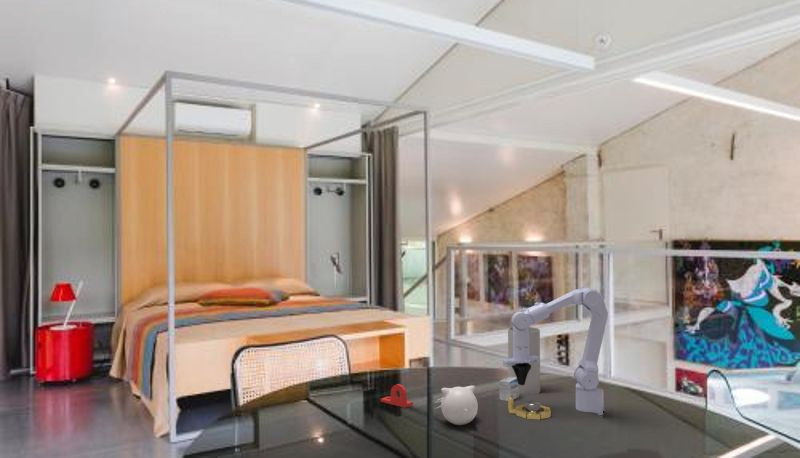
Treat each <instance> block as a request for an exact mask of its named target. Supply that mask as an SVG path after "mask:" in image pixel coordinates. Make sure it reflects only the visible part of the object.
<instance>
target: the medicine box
mask: <svg viewBox="0 0 800 458" xmlns="http://www.w3.org/2000/svg"><path fill="white" fill-rule="evenodd" d="M508 397H513V401H514V400H515V399H518V398H519V397H520V394H519V384H518V381H517V378H516V377H508V376H507V377H505V378H503V379H501V380H499V400H501V401H506V402H508Z"/></svg>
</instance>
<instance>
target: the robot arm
mask: <svg viewBox="0 0 800 458" xmlns="http://www.w3.org/2000/svg"><path fill="white" fill-rule="evenodd" d="M569 305H578V306H579V305H580V306H584V307H585V308H586V309H587V311H588V312H589V313H590V314H591V316H590V317H591V318H590V323H589V327H588V332H587V335H586V340H585V344H584V349H583V353H582V358H581V359H580V361H579V363H578V366H577V367H576V368H575V370H574V372H573V375H574V379H575V381H576V384H575V409H576V410H577V411H579V412H584V413H595V414H596V415H598V416H600V415H602V414H603V415H604V413H603V411H604V412H605V405H604V404H605V403H604V401H605V400H604V399H605V398H604V396H605V395H604V389H601V388H598V385H599V382H600V378H599V375H598V374H599V366H598V363H599V362H598V361H599V358H600V357H599V356H600V352H601V348H602V343H603V339H604V335H605V330H606V325H607V321H608V316H609V313H608V309H607V306H606V303H605V299H604V296H603V295H602V294H601V293H600V292H599V290H597V289H593V288H590V287H588V286H581V287H580V288H578V289H577V288H576V289H573V290H571V291H570V292H568V293H565V294H563V295H561V296H560V297H558V298H555V299H553V300H552V301H550V302H547V303H544V302H538V301H537V302H534V305H532V306H531V307H528V308H522V311H516V312H515V313H513V315H512V317H511V319H510V321H511V323H512V325H513V326H512V327H513V358H510V359H508V358H507V359H503V360H502V366H503V367H506V368H508V367H509V366H512V368H513V370H514V372H515V374H516V377H517V381H518V384H519V385H525V381H526V377H527V374H528V372H529V370H530V369H531V365H530V364H529V363H533V362H539V357H537V356H529V327H531V325H535V324H537V323H538V322H539V323H540V322H541V321H543V320H545V319H547V318H550V315H551V313H552V312H555V311H557V310H560V309H562V308H566V307H567V306H569Z"/></svg>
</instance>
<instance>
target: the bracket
mask: <svg viewBox="0 0 800 458" xmlns="http://www.w3.org/2000/svg"><path fill="white" fill-rule="evenodd" d="M398 392H399V394H400V396H399V395H398ZM407 393H408V392H407V390H406V388H405V386H404V385H402V384H401V383H398V384H394V385H392V387H391V389H390V396H385V397H382V398H380V402H382V403H385V404H388V405H392V406H396V407H401V408H405V409H406V408H407V407H411V406H413V404H414V403H413V401H409V400H408V396H407V395H408V394H407Z"/></svg>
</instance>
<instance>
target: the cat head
mask: <svg viewBox="0 0 800 458" xmlns="http://www.w3.org/2000/svg"><path fill="white" fill-rule="evenodd" d="M475 389H476V386H475V385H468V386H454V387H442V388H441V389H440V392H441V393H442V397H440V398H439V399H436V400H435V401H436V402H435V403H440V405H439V406H438V407H436V408H435V410H436V409H439V408H441V413H442V415H443V416H444V418H445V419H446V420H447V421H448V422H449V423H451V424H453V425H456V426H463V425H467V424H469V423H471V422H472V421H473V420H474V419H475V418H476V416H477V414H478V410H479V409H478V408H479V405H478V404H479V403H478V400H477V397H476V396H475V394H474V392H475V391H476V390H475Z"/></svg>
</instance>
